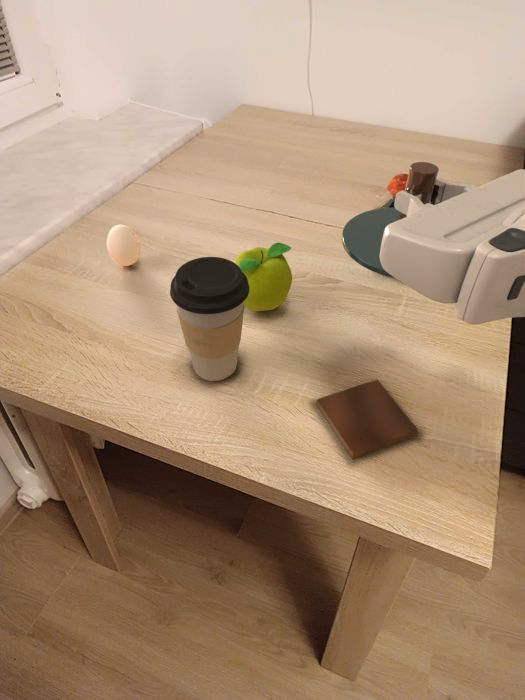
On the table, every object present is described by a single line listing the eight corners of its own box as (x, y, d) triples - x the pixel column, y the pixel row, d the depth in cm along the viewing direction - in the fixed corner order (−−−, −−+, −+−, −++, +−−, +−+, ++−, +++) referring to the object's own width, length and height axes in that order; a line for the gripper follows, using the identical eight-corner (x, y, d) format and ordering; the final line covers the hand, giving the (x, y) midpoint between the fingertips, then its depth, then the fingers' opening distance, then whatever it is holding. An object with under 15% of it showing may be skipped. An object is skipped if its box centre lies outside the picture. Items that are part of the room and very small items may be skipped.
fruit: (302, 310, 77) (306, 255, 71) (250, 331, 74) (250, 275, 67) (270, 280, 83) (271, 226, 76) (220, 298, 79) (217, 243, 72)
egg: (105, 265, 86) (95, 227, 81) (128, 252, 89) (120, 214, 84) (126, 276, 83) (117, 238, 78) (149, 262, 86) (142, 224, 81)
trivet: (376, 384, 66) (377, 379, 66) (416, 435, 60) (418, 430, 60) (315, 404, 64) (316, 399, 63) (351, 459, 58) (353, 454, 57)
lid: (498, 254, 52) (530, 172, 46) (416, 304, 45) (440, 217, 39) (396, 205, 59) (412, 130, 53) (314, 243, 53) (321, 162, 47)
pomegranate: (390, 228, 100) (437, 200, 96) (372, 199, 96) (420, 169, 92) (385, 214, 106) (429, 187, 102) (368, 186, 102) (413, 157, 98)
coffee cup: (168, 380, 67) (153, 289, 56) (199, 335, 73) (190, 246, 63) (234, 399, 64) (230, 308, 54) (259, 351, 71) (260, 262, 60)
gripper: (629, 184, 43) (489, 135, 51) (481, 263, 34) (341, 188, 42) (594, 249, 47) (471, 193, 55) (455, 333, 38) (333, 253, 46)
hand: (414, 191), depth 48 cm, fingers closed on lid, 2 cm apart
